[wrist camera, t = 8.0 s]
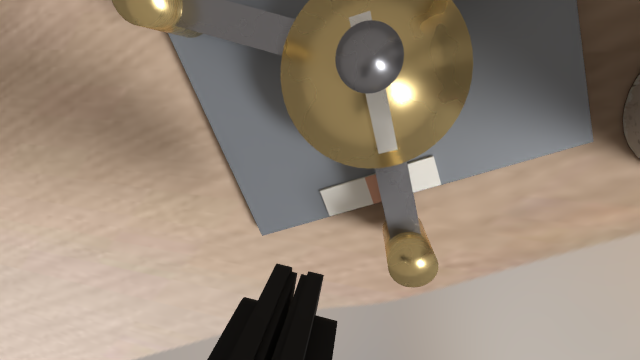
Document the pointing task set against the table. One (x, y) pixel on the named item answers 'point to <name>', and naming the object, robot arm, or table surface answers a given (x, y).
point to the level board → (431, 166)
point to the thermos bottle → (633, 117)
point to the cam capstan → (353, 87)
